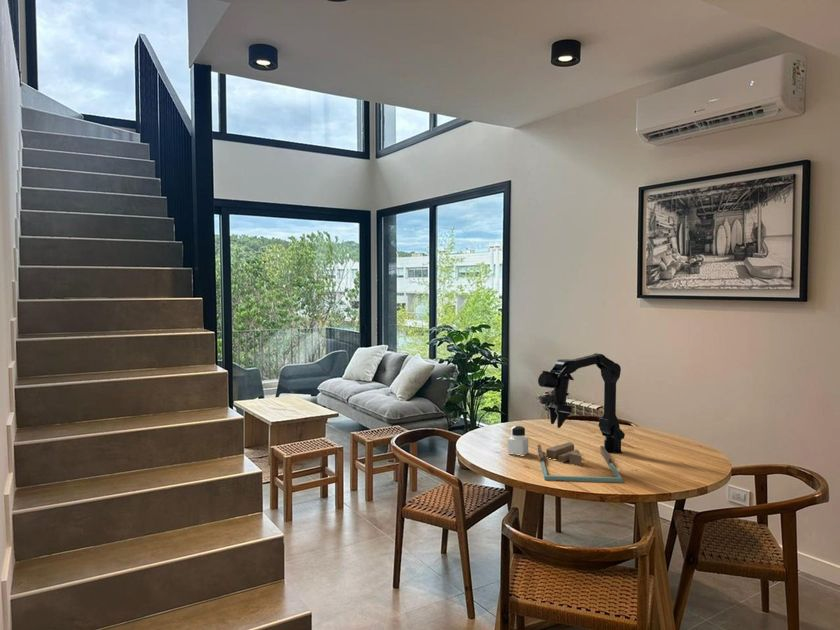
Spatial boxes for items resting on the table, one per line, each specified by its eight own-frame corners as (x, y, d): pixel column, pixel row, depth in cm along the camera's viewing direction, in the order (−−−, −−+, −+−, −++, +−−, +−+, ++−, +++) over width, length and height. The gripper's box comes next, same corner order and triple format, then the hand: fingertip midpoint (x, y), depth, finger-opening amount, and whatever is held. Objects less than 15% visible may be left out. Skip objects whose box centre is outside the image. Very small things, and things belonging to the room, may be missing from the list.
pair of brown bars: (603, 452, 251) (603, 445, 251) (612, 466, 231) (611, 458, 231) (537, 451, 255) (537, 444, 255) (540, 464, 235) (540, 457, 235)
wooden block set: (544, 446, 243) (568, 439, 255) (544, 459, 243) (568, 451, 255) (579, 454, 230) (602, 446, 243) (579, 468, 231) (602, 459, 243)
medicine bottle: (528, 452, 252) (528, 426, 252) (523, 456, 246) (522, 429, 246) (513, 450, 256) (513, 424, 256) (507, 454, 250) (507, 427, 250)
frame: (612, 467, 230) (612, 463, 230) (622, 482, 211) (622, 478, 211) (541, 465, 234) (540, 461, 234) (544, 480, 215) (544, 476, 215)
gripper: (536, 384, 250) (531, 419, 249) (548, 388, 231) (543, 426, 231) (561, 388, 250) (555, 423, 250) (575, 392, 232) (569, 430, 231)
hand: (555, 425), depth 240 cm, fingers open, 9 cm apart
